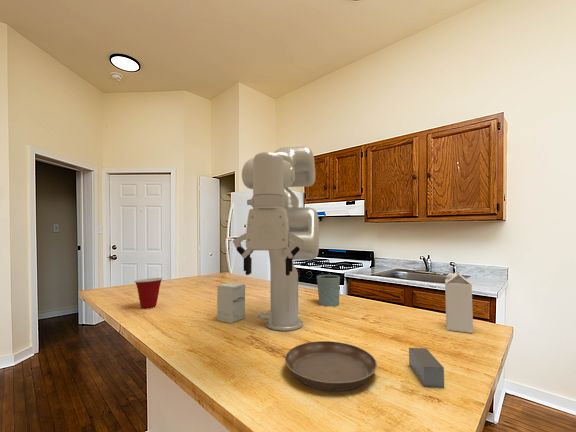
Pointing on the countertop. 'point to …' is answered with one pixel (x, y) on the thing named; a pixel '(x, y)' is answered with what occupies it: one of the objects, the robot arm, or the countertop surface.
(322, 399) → the countertop surface
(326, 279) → the grey green tapered pot
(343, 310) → the countertop surface
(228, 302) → the supplement box
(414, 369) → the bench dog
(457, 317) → the milk carton
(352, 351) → the plant saucer
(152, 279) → the plastic cup
